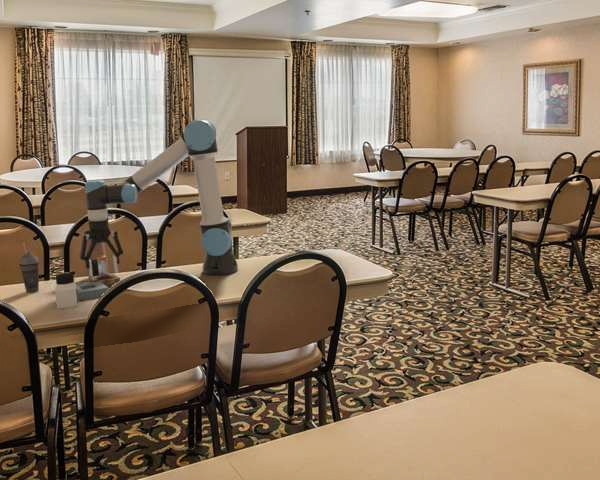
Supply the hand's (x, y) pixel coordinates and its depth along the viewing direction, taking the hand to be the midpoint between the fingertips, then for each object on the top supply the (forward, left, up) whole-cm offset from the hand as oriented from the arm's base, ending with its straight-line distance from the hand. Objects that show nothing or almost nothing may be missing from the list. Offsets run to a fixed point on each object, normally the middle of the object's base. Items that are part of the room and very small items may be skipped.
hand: (103, 273), depth 254 cm
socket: (+9, +10, -5) cm, 14 cm away
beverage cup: (+26, -9, -5) cm, 28 cm away
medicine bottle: (+19, +20, -5) cm, 28 cm away
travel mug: (-1, -14, -5) cm, 15 cm away
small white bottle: (0, 0, -5) cm, 5 cm away
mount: (0, 0, -5) cm, 5 cm away
